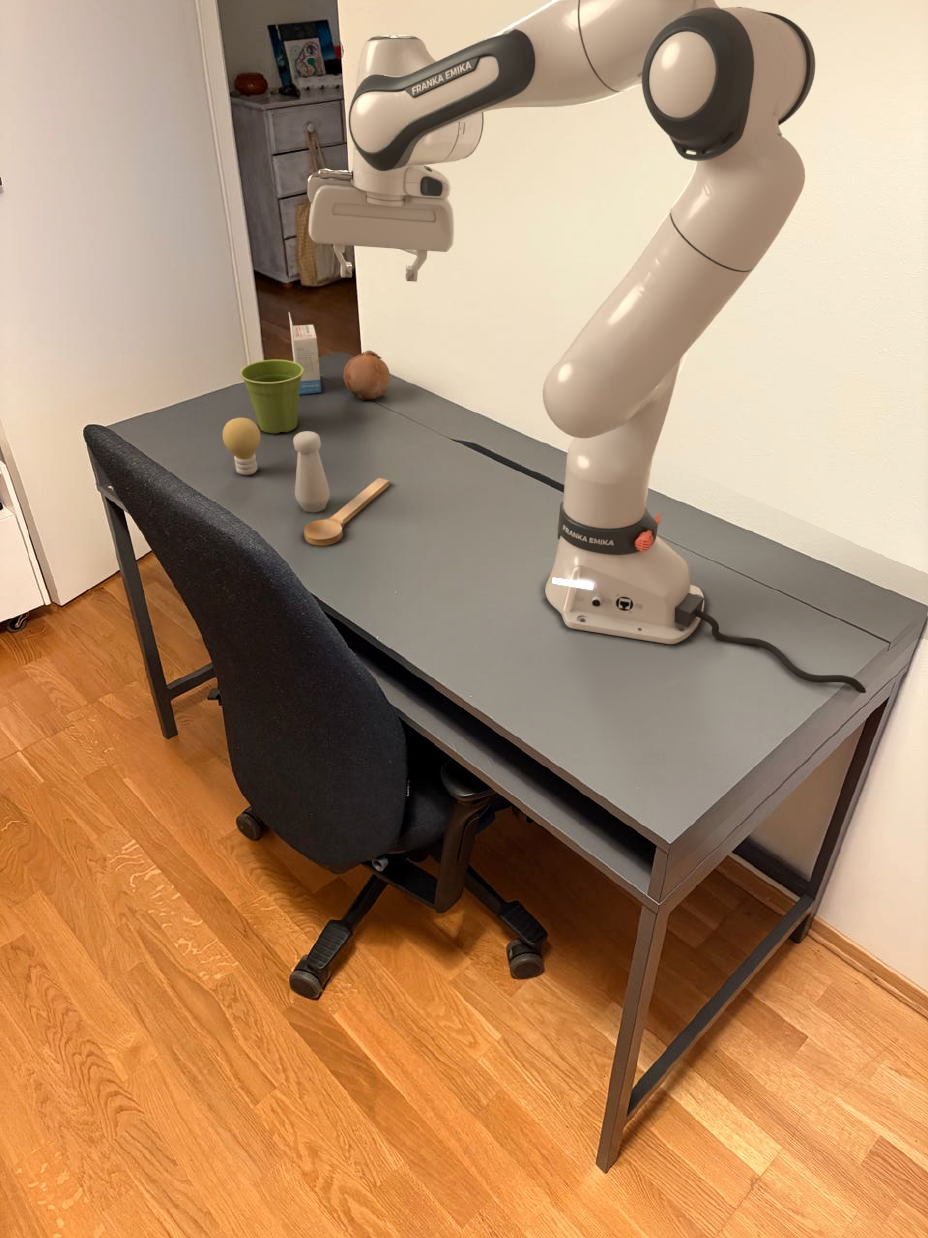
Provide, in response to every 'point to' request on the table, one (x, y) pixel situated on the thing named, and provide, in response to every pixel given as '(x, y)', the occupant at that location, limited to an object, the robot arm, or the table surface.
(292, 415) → the plant pot
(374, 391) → the onion
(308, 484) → the salt shaker
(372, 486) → the wooden spoon
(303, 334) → the ink box
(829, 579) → the table surface
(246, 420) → the light bulb
